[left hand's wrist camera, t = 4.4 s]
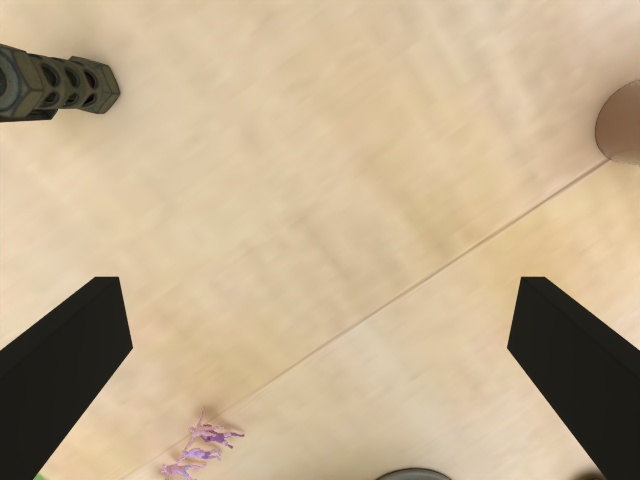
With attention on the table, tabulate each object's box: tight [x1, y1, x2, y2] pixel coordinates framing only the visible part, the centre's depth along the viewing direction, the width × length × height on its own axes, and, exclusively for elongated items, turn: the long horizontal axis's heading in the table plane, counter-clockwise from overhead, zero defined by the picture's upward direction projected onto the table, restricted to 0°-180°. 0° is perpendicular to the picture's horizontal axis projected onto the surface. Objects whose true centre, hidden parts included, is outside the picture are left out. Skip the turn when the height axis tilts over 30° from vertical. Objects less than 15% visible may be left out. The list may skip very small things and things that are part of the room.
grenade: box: [0, 44, 120, 122], centre depth 29 cm, size 9×6×15 cm, turn 134°
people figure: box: [161, 407, 244, 480], centre depth 50 cm, size 18×6×8 cm
